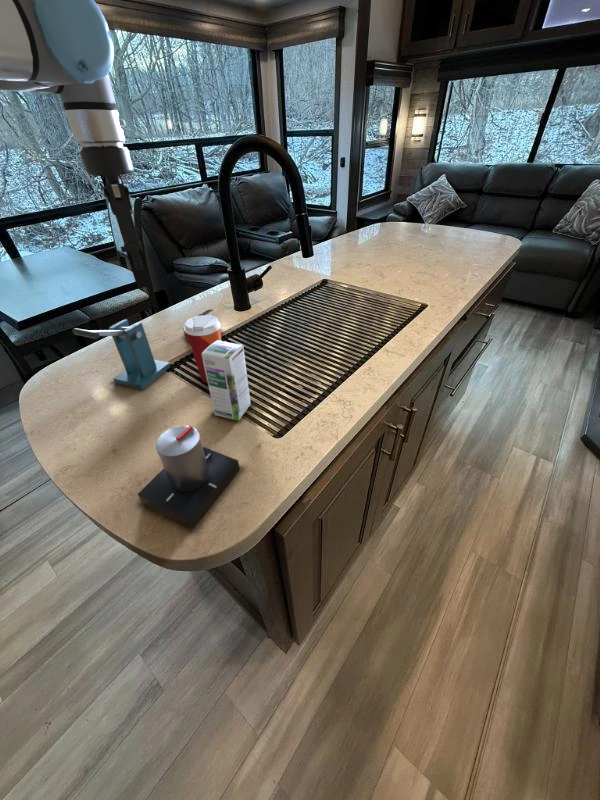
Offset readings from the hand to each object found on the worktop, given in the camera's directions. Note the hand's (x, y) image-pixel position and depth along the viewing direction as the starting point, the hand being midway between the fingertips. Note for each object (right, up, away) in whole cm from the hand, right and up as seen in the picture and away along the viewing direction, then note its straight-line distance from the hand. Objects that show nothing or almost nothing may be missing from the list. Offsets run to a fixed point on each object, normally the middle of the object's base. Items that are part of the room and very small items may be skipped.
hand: (142, 276), depth 68 cm
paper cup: (+12, -20, +10) cm, 25 cm away
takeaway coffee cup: (+5, -7, +27) cm, 28 cm away
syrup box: (+18, -28, +1) cm, 33 cm away
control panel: (+15, -39, -14) cm, 45 cm away
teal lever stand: (-5, -19, +11) cm, 23 cm away
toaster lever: (-7, -13, +1) cm, 15 cm away
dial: (+15, -37, -16) cm, 43 cm away
